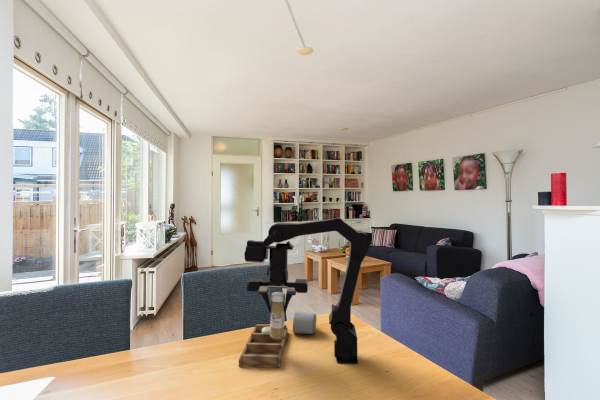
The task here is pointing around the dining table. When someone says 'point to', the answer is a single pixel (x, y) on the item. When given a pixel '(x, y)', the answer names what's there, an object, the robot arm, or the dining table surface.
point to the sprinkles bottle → (277, 315)
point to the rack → (263, 348)
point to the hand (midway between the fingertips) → (277, 312)
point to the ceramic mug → (304, 322)
